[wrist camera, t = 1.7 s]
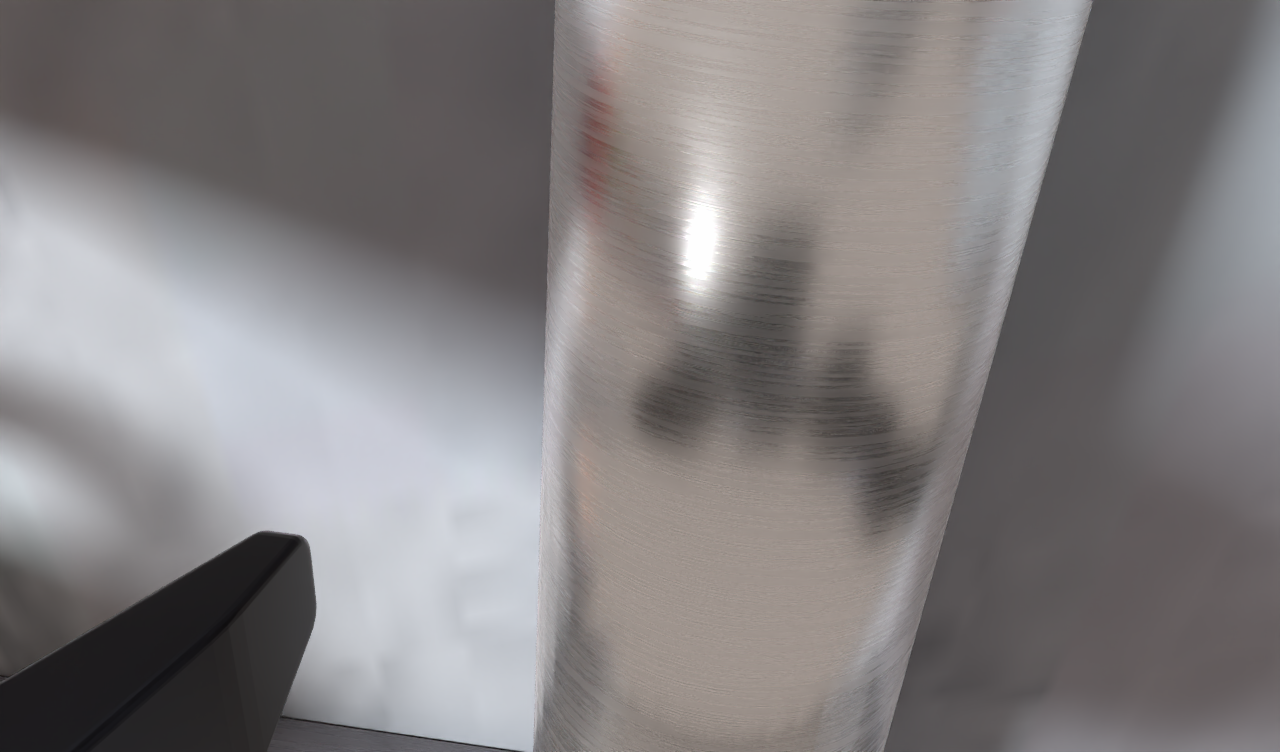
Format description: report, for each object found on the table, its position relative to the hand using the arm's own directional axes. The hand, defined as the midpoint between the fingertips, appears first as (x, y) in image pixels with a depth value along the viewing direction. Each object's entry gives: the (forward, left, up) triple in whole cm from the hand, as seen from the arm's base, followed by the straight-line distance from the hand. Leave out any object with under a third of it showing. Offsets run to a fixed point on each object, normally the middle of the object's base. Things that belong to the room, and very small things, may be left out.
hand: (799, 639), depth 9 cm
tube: (0, 0, -6) cm, 6 cm away
